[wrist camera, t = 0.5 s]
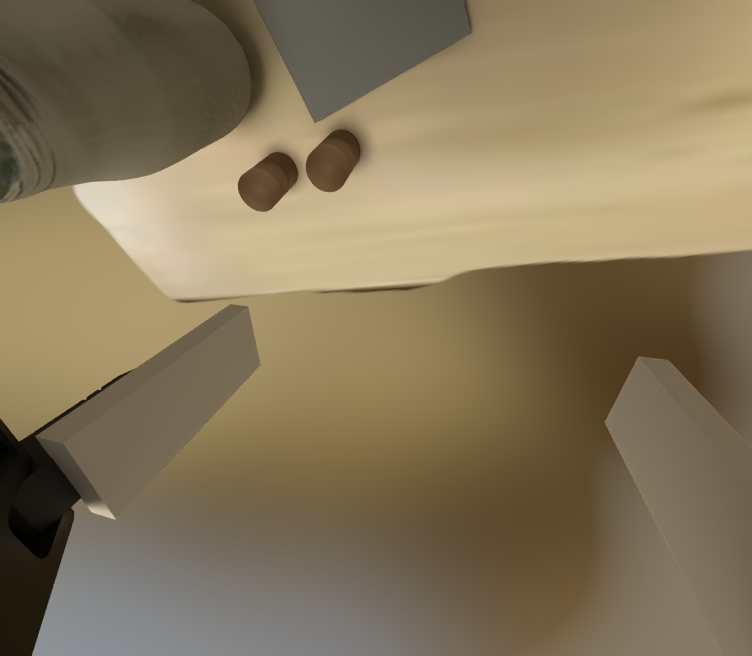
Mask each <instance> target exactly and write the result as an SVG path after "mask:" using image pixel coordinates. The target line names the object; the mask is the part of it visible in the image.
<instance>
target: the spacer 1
mask: <svg viewBox="0 0 752 656" xmlns="http://www.w3.org/2000/svg"><path fill="white" fill-rule="evenodd" d="M297 177H298V172H297V168H296V165H295V164H294V162H293V161H292V159H291V158H290V157H288V156H287V155H285V154H283V153H279V152H275V153H272V154H270V155H269V156H267V157H266V158H265V159H263V160H262V161H261V162H259V163H258V164H257V165H255V166H254V167H253V168H251V169H250V170H248V171H247V172H246V173H244V174H243V175H242V176H241V177H240V179H239V181H238V190H239V194H240V196H241V198H242V199H243V201H244V202H245V203H246V204H247V205H248V206H249V207H251V208H252V209H254V210H257V211H261V212H265V211H269V210H270V209H272V208H273V207H274V206H275V204H276V203H277V202H278V201H279V200H280V199H281V198H282V197H283V196H284V195H285V194H286V193H287V192H288V191H289V189H290V188H291V187H292V186H293V185H294V184H295V183H296V181H297Z"/></svg>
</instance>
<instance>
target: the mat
mask: <svg viewBox="0 0 752 656" xmlns="http://www.w3.org/2000/svg"><path fill="white" fill-rule="evenodd" d="M254 2H255V4H256V6H257V8H258V10H259V12H260V14H261V16H262V18H263V20H264V22H265V24H266V26H267V28H268V30H269V32H270V34H271V36H272V38H273V40H274V42H275V44H276V46H277V48H278V50H279V52H280V54H281V56H282V58H283V60H284V62H285V64H286V66H287V68H288V70H289V72H290V74H291V76H292V78H293V80H294V82H295V84H296V86H297V88H298V90H299V92H300V94H301V96H302V98H303V100H304V102H305V104H306V106H307V108H308V110H309V112H310V114H311V116H312V118H313V120H314V122H315V123H316V122H318V121H320V120H322V119H323V118H325V117H327V116H328V115H330V114H332V113H334V112H335V111H337V110H339V109H341V108H342V107H344V106H346V105H348V104H349V103H351V102H353V101H354V100H356V99H358V98H360V97H361V96H363V95H365V94H367V93H368V92H370V91H372V90H373V89H375V88H377V87H379V86H380V85H382V84H384V83H386V82H387V81H389V80H391V79H392V78H394V77H396V76H398V75H399V74H401V73H403V72H405V71H406V70H408V69H410V68H412V67H413V66H415V65H417V64H418V63H420V62H422V61H424V60H425V59H427V58H429V57H431V56H432V55H434V54H436V53H437V52H439V51H441V50H443V49H444V48H446V47H448V46H450V45H451V44H453V43H455V42H456V41H458V40H460V39H462V38H463V37H465V36H467V35H469V34H470V33H471V32H470V27H469V22H468V17H467V12H466V8H465V3H464V0H254Z"/></svg>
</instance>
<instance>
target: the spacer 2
mask: <svg viewBox="0 0 752 656" xmlns="http://www.w3.org/2000/svg"><path fill="white" fill-rule="evenodd" d="M359 157H360V147H359V143H358V141H357V139H356V138H355V137H354V136H353V135H352V134H351V133H350V132H348V131H345V130H336V131H334V132H332V133H331V134H330V135H329V136H328V137H327V138H326V139H325V140H323V141H322V142H321V143H320V144H319V145H318V146H317V147H316V148H315V149H314V150H313V151H312V152H311V153H310V154H309V156H308V158H307V161H306V172H307V175H308V177H309V179H310V181H311V182H312V184H313V185H314V186H315V187H317V188H318V189H320V190H322V191H325V192H334V191H337V190H339V189H340V188H341V187H342V186H343V185H344V183H345V182H346V180H347V178H348V177H349V175H350V173H351V172H352V170H353V169H354V167H355V165H356V164H357V162H358V160H359Z"/></svg>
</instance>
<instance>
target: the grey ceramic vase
mask: <svg viewBox="0 0 752 656" xmlns="http://www.w3.org/2000/svg"><path fill="white" fill-rule="evenodd" d="M251 90H252V86H251V75H250V69H249V65H248V61H247V58H246V55H245V53H244V50H243V48H242V46H241V45H240V43H239V42H238V41H237V39H236V38H235V37H234V35H233V34H232V33H231V31H230V30H229V29H228V27H227V26H226V25H225V24H224V23H223V22H222V21H221V20H220V19H218V18H217V17H216V16H215V15H214V14H213V13H211V12H210V11H209V10H208V9H206V8H204V7H202V6H201V5H199V4H197V3H195V2H193V1H191V0H0V203H6V202H11V201H16V200H20V199H24V198H27V197H29V196H32V195H35V194H38V193H40V192H43V191H46V190H49V189H55V188H60V187H65V186H71V185H77V184H82V183H87V182H95V181H118V180H127V179H133V178H139V177H143V176H147V175H151V174H153V173H156V172H159V171H161V170H163V169H165V168H167V167H169V166H171V165H173V164H175V163H177V162H179V161H181V160H183V159H185V158H187V157H188V156H190V155H192V154H193V153H195V152H197V151H198V150H200V149H202V148H204V147H206V146H208V145H210V144H212V143H213V142H215V141H217V140H219V139H221V138H223V137H224V136H226V135H227V134H229V133H230V132H231V131H232V130H233V129H235V128H236V126H237V125H238V124H239V123H240V122H241V120H242V119H243V117H244V115H245V114H246V112H247V109H248V107H249V103H250V99H251Z"/></svg>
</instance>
